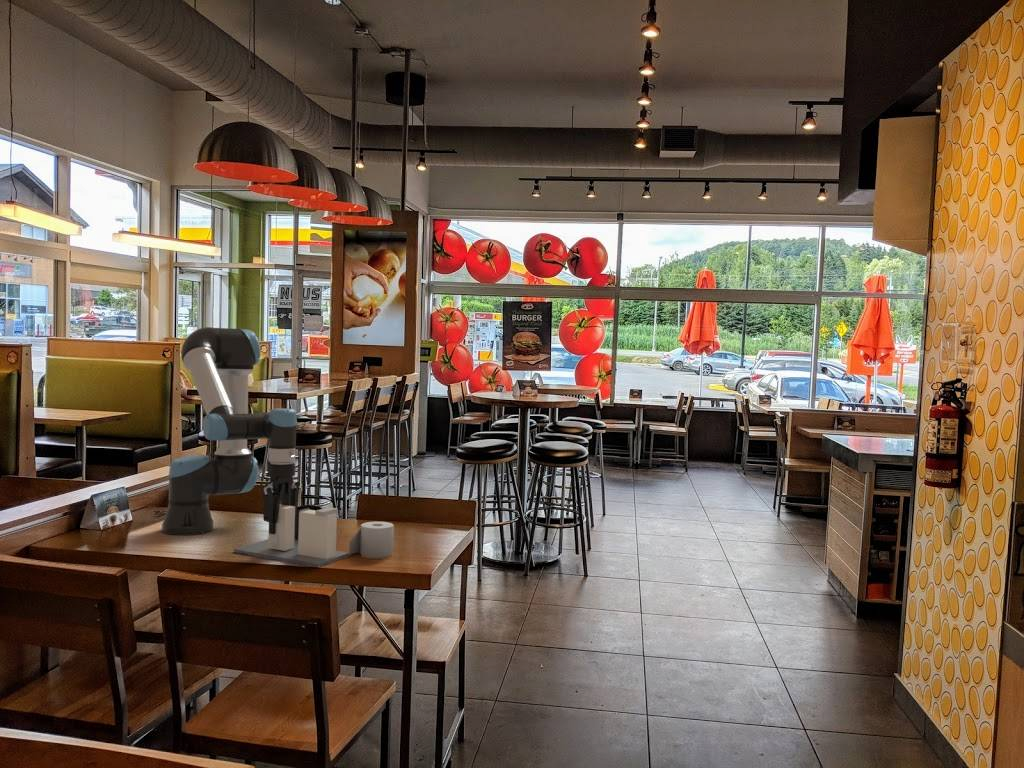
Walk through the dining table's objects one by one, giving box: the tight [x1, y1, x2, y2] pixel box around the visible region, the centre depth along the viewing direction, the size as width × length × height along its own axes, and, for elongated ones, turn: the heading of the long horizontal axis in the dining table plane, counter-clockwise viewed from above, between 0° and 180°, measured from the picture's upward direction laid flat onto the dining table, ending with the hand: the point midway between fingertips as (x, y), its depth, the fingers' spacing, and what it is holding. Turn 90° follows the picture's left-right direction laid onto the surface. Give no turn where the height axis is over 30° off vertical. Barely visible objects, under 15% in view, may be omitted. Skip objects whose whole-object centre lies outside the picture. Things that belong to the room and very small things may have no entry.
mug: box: [294, 505, 324, 541], centre depth 241 cm, size 9×12×9 cm
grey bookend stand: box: [233, 507, 351, 568], centre depth 219 cm, size 30×14×14 cm, turn 65°
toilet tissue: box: [348, 521, 395, 559], centre depth 222 cm, size 9×13×9 cm
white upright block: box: [268, 504, 295, 551], centre depth 221 cm, size 6×4×12 cm
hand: (279, 543), depth 221 cm, fingers closed on white upright block, 4 cm apart
